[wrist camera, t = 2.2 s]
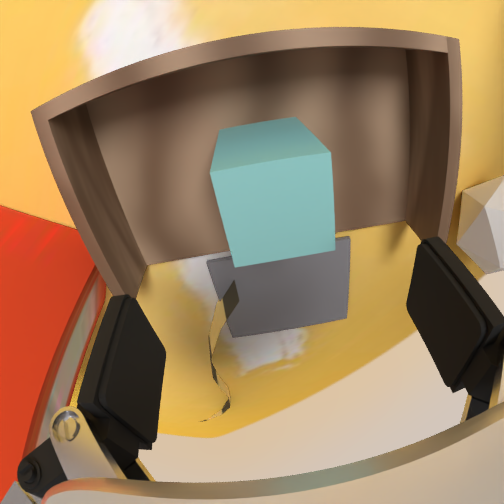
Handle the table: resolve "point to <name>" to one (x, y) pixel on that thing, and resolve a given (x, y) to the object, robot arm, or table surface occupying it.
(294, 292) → the mat
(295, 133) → the teal block
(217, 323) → the curved strip
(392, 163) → the open box
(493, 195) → the die
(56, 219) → the table surface
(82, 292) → the file binder
